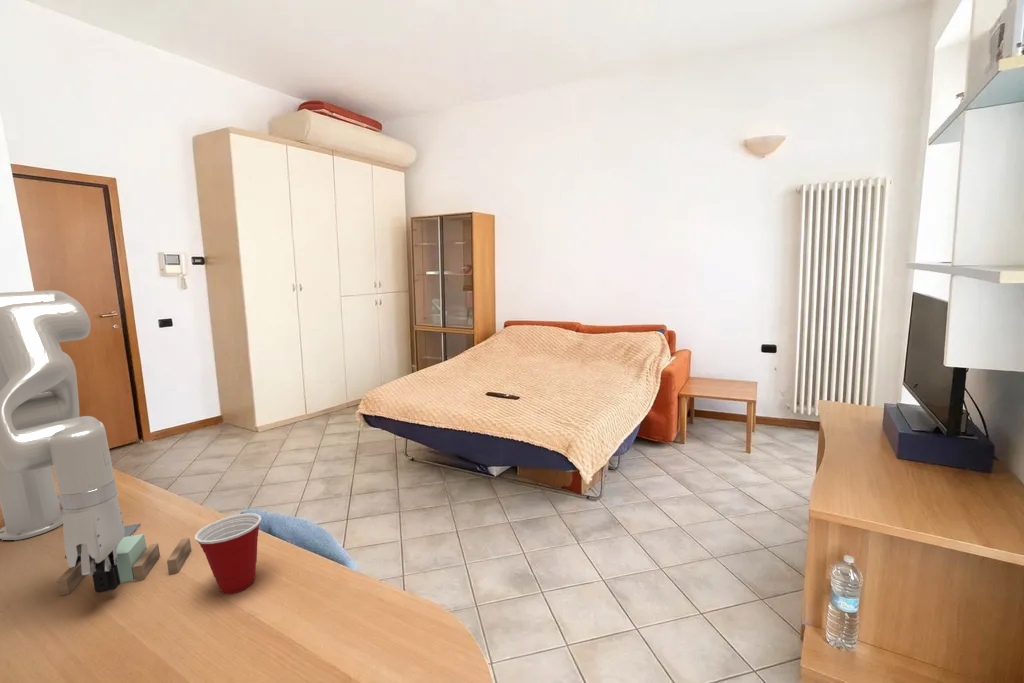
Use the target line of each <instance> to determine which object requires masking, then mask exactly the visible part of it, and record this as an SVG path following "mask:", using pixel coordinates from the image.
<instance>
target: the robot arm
mask: <svg viewBox="0 0 1024 683" xmlns="http://www.w3.org/2000/svg"><path fill="white" fill-rule="evenodd" d="M91 326H92V324H91V319H90V317H89V314H88V312H87V311H86V309H85V308H84V306H83V305H82V304H81V303H80V302H79V301H78V300H77V299H76V298H73V297H72V296H70V295H69V294H67V293H66V292H64V291H61V290H33V291H32V290H31V291H30V290H29V291H14V292H13V291H10V292H8V291H7V292H0V510H1V513H2V517H3V518H2V519H3V520H4V526H3V527H1V528H0V539H2V540H1V541H3V540H14V541H19V540H23V539H29V538H32V537H36V536H39V535H42V534H45V533H47V532H48V533H49V531H52V530H54V529H57V528H58V527H61V526H62V529H63V530H62V531H63V533H62V534H63V540H64V541H63V542H64V550H65V555H66V557H67V558H66V561H67V565H68V567H69V568H74V567H76V566H77V565H78V564H79V563H80V562H81V568H82V575H86V576H88V575H91V576H92V580H93V581H92V582H93V585H94V586H93V587H94V591H95V593H97V594H99V593H105V592H108V591H114V590H116V589H117V588H118V586H120V584H121V583H120V578H119V572H118V567H117V564H116V563H117V551H116V550H117V549H116V548H117V546H118V545H119V543H120V541H121V540H122V539H123V537H124V534H125V531H124V526H125V525H124V519H123V514H122V511H121V508H120V505H119V504H120V503H119V500H118V496H119V495H118V489H117V484H116V479H115V473H114V469H113V463H112V458H111V452H110V448H109V442H108V437H107V432H106V428H105V425H104V423H103V422H102V421H100V420H98V419H97V417H94V416H91V415H85V416H84V415H83V416H80V401H79V390H78V378H77V369H76V366H75V363H74V361H73V358H71V356H70V355H69V354H68V353H66V352H64V351H63V349H62V347H61V345H60V343H63V342H64V343H65V342H71V341H81V340H83V339H84V340H85V339H86V338H87V337H88V336H89V335H90V333H91ZM52 466H53V470H54V475H55V479H56V484H57V489H58V493H59V495H58V493H57V489H56V484H55V480H54V475H53V471H52ZM60 506H61V507H62V509H61V507H60ZM114 564H116V565H114Z"/></svg>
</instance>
